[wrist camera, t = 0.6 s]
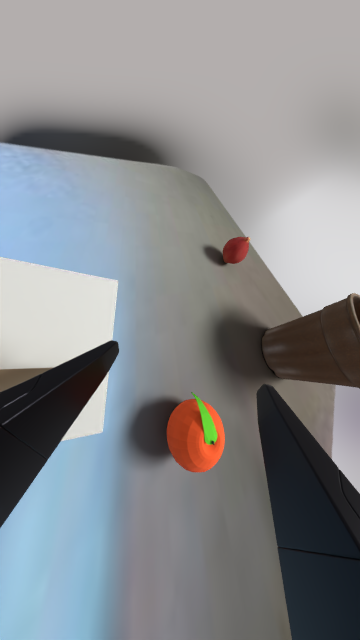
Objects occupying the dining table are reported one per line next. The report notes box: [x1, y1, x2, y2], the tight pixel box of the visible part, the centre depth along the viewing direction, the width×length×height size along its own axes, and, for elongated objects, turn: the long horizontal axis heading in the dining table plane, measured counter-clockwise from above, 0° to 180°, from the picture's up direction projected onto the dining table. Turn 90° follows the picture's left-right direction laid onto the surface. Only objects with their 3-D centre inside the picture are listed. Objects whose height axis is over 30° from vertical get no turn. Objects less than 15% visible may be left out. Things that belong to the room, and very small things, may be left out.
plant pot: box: [262, 293, 360, 388], centre depth 29 cm, size 16×16×16 cm
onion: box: [223, 237, 250, 264], centre depth 35 cm, size 6×6×8 cm
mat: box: [0, 257, 118, 441], centre depth 16 cm, size 20×18×1 cm
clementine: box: [167, 392, 225, 472], centre depth 18 cm, size 8×7×7 cm
